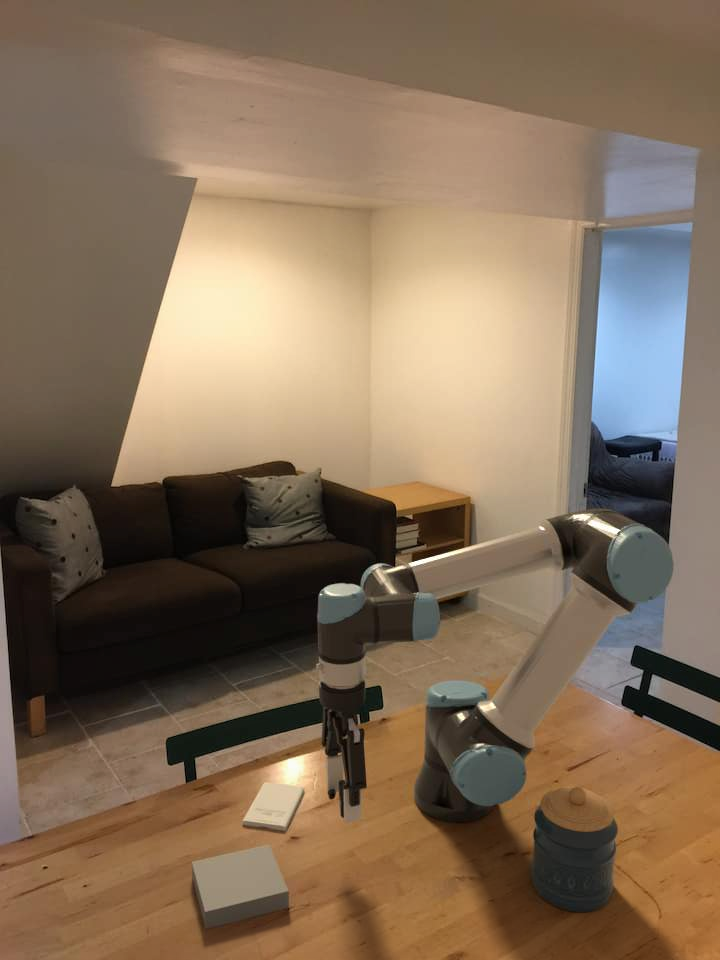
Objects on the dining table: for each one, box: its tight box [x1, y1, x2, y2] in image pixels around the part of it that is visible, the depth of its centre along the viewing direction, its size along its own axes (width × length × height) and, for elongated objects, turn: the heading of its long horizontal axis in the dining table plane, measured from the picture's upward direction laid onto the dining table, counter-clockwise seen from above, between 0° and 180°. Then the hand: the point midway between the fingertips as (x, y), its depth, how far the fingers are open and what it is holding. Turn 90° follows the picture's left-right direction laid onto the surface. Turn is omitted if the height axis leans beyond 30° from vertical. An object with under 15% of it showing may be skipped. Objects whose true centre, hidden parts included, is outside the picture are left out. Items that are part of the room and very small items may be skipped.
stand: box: [191, 843, 290, 930], centre depth 131 cm, size 13×12×3 cm
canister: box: [530, 786, 619, 913], centre depth 132 cm, size 13×13×18 cm
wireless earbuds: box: [326, 779, 346, 819], centre depth 137 cm, size 5×7×3 cm, turn 5°
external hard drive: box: [241, 781, 305, 832], centre depth 154 cm, size 2×8×12 cm
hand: (343, 804), depth 137 cm, fingers closed on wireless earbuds, 8 cm apart
